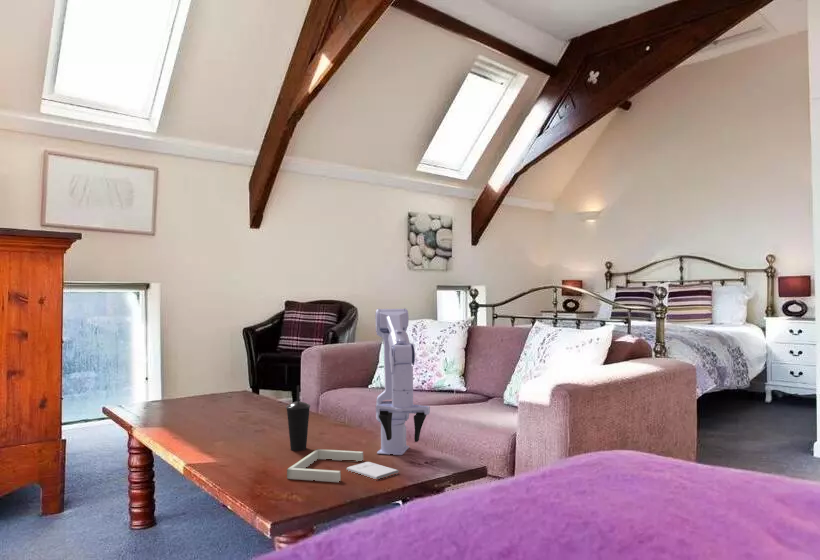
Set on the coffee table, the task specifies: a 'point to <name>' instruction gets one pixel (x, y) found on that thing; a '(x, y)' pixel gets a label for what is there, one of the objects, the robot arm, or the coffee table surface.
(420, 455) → the coffee table surface
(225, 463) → the coffee table surface
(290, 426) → the drinking cup
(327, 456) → the open u-shaped rail
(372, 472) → the external hard drive
